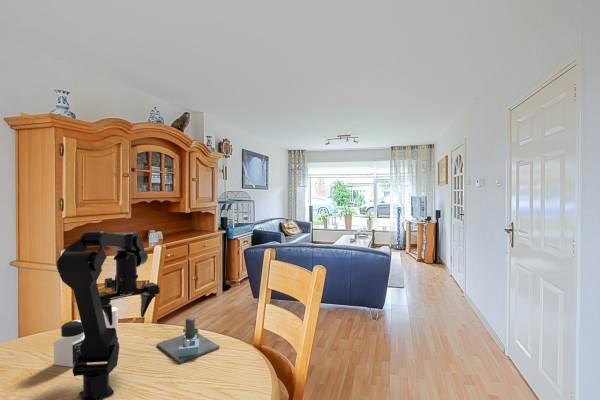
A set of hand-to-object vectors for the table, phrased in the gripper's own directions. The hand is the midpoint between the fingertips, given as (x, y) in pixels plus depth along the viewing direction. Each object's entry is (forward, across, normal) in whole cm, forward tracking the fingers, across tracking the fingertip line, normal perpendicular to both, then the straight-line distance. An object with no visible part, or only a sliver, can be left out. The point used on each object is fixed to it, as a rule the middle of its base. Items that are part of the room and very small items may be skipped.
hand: (127, 320), depth 102 cm
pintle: (+12, -14, +11) cm, 22 cm away
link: (+11, -17, +8) cm, 22 cm away
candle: (+12, 0, -20) cm, 23 cm away
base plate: (+12, -17, +6) cm, 22 cm away
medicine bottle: (+12, +12, -11) cm, 20 cm away
